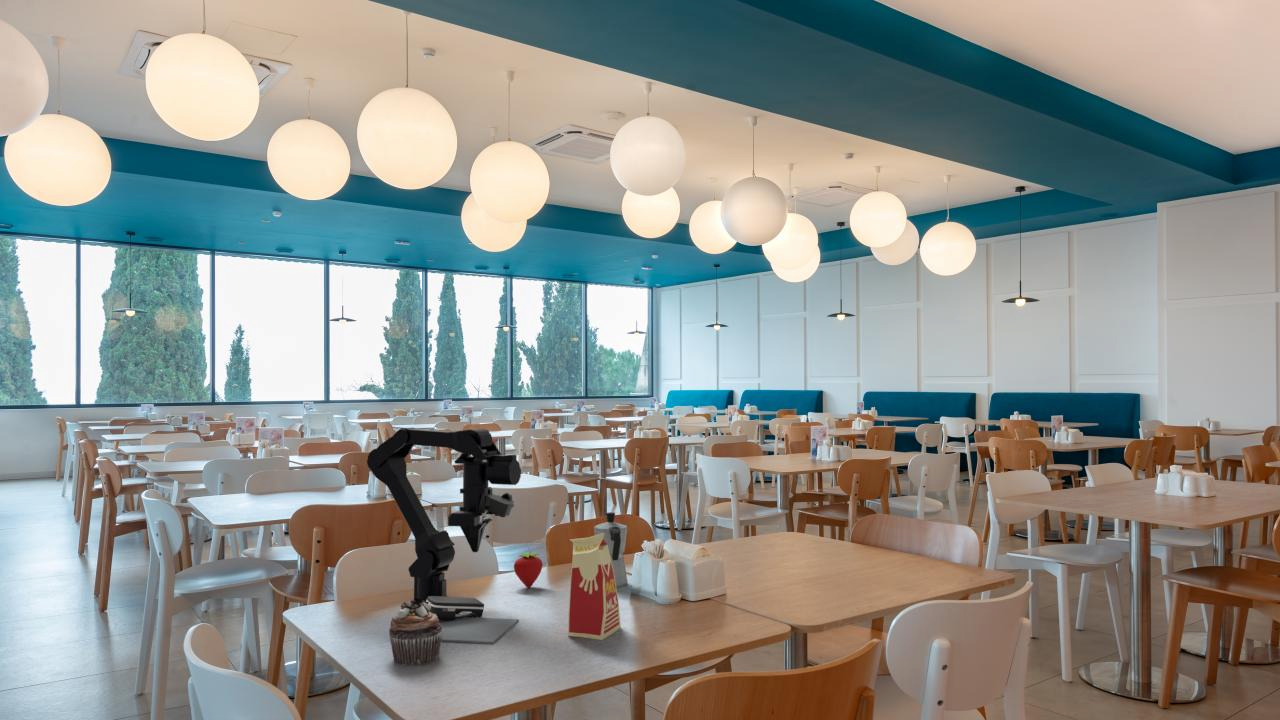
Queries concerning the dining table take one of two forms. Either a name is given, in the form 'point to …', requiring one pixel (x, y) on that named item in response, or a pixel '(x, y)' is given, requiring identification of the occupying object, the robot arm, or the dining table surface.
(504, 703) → the dining table surface
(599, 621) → the milk carton
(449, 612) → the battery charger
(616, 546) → the coffee maker
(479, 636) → the mat
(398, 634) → the cupcake
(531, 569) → the strawberry
